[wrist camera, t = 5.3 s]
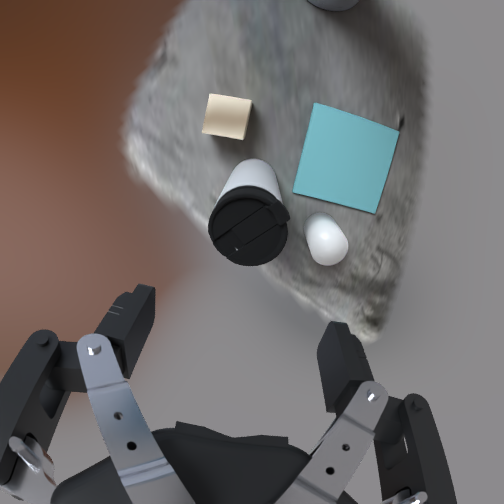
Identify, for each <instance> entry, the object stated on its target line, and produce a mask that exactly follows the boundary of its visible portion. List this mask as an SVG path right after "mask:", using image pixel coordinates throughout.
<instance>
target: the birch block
mask: <svg viewBox="0 0 504 504" xmlns="http://www.w3.org/2000/svg"><path fill="white" fill-rule="evenodd" d="M251 108H252V101H251V100H247V99H241V98H236V97H230V96H224V95H217V94H210V95H209V100H208V105H207V109H206V114H205V119H204V125H203V130H202V133H206V134H212V135H218V136H224V137H230V138H235V139H240V140H243V139H244V138H245V135H246V130H247V126H248V121H249V117H250V112H251Z"/></svg>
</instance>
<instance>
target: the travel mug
mask: <svg viewBox="0 0 504 504" xmlns="http://www.w3.org/2000/svg"><path fill="white" fill-rule="evenodd" d="M289 220H290V216H289V212H288V211H287V209H286V208H285V206H284V205H283V203H282V199H281V195H280V191H279V187H278V183H277V179H276V175H275V172H274V170H273V168H272V167H271V166H270V165H269V164H268V163H267V162H265V161H263V160H261V159H257V158H251V159H246V160H244V161H242V162H240V163H239V164H238V165H237V166H236V167H235V168H234V170H233V172H232V174H231V176H230V178H229V179H228V181H227V183H226V185H225V187H224V189H223V191H222V193H221V195H220V196H219V198H218V200H217V202H216V205H215V207H214V210H213V212H212V214H211V216H210V219H209V224H208V233H209V235H210V238H211V240H212V241H213V245H214V246H215V247H216V249H217V250H218V251H219V252H220V253H221V254H222V255H224V256H226V257H227V259H229V260H230V261H232V262H233V263H235V264H239V265H243V266H258V265H262V264H265V263H267V262H269V261H271V260H273V259H274V258H275V257H277V256H278V255H279V253H280V252H281V251H282V249H283V248H284V246H285V244H286V241H287V235H288V230H287V224H286V222H287V221H289Z"/></svg>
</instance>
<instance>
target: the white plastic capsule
mask: <svg viewBox="0 0 504 504" xmlns="http://www.w3.org/2000/svg"><path fill="white" fill-rule="evenodd" d="M303 229H304V234H305V237H306V240H307V243H308V246H309V249H310V252H311V255H312V257H313V259H314V260H315V261H316V262H317V263H319V264H321V265H326V266H329V265H334V264H336V263H338V262H340V261H341V260H342V259H343V258H344V257H345V255H346V254H347V251H348V241H347V239H346V237H345V236H344V234H343V233H342V231H341V229H340V228H339V226H338V225H337V223H336V222H335V220H334V219H333V217H332V216H330V215H329V214H327V213H323V212H318V213H314V214H312V215H311V216H309V217H308V218H307V220H306V221H305V223H304V228H303Z"/></svg>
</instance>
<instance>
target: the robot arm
mask: <svg viewBox="0 0 504 504" xmlns="http://www.w3.org/2000/svg"><path fill="white" fill-rule="evenodd" d="M308 1H309V2H310V3H311V4H313V5H315V6H317V7H319V8H322V9H325V10H330V11H344V10H347V9H350V8H352V7H353V6H354V5H355V4H356V3H357V2H358V1H359V0H308ZM154 318H155V287H152V286H147V285H143V284H138V285H137V287H136V288H135V290H134V291H133V293H129V292H125V293H123V294H122V295H120V296H119V297H118V298H117V299H116V300H115V302H114V303H113V305H112V306H111V308H110V309H109V311H108V312H107V314H106V315H105V317H104V318H103V320H102V321H101V323H100V324H99V326H98V327H97V329H96V330H95V332H94V333H93V334H88V335H85V336H83V337H82V338H81V339H80V340H79V341H78V342H66V341H59V340H58V337H57V335H56V334H55V333H54V332H52V331H50V330H39V331H36V332H34V333H33V334H32V335H31V336H30V337H29V338H28V340H27V341H26V343H25V344H24V346H23V347H22V349H21V350H20V352H19V353H18V355H17V357H16V358H15V360H14V361H13V363H12V364H11V366H10V368H9V369H8V371H7V372H6V374H5V376H4V377H3V379H2V381H1V383H0V490H2V491H3V492H5V493H7V494H9V495H11V496H13V497H14V498H16V499H18V500H25V501H27V502H29V503H31V504H358V503H357V502H356V501H355V500H354V499H353V498H352V497H351V496H350V495H349V494H347V493H346V492H345V491H344V489H345V487H346V485H347V484H348V482H349V481H350V479H351V478H352V476H353V474H354V473H355V471H356V469H357V468H358V466H359V464H360V462H361V461H362V459H363V457H364V455H365V453H366V451H367V450H368V448H369V446H370V444H371V442H372V440H374V446H375V452H376V458H377V464H378V471H379V478H380V485H381V493H382V501H383V502H382V503H381V504H457V501H456V496H455V492H454V487H453V483H452V479H451V475H450V471H449V467H448V464H447V460H446V456H445V453H444V449H443V446H442V443H441V440H440V436H439V433H438V430H437V427H436V424H435V421H434V418H433V415H432V412H431V409H430V407H429V404H428V402H427V401H426V400H425V399H424V398H423V397H422V396H420V395H418V394H414V393H413V394H409V395H407V397H405V399H404V400H401V399H398V398H394V397H390V396H388V393H387V391H386V390H385V388H384V387H383V386H382V385H381V384H379V383H377V382H375V381H374V378H373V375H372V372H371V369H370V366H369V363H368V361H367V359H366V355H365V353H364V349H363V346H362V344H361V342H360V341H359V339H358V338H357V337H356V336H355V335H352V334H351V333H350V330H349V327H348V325H347V323H342V322H335V321H331V322H330V323H329V324H328V326H327V329H326V331H325V333H324V335H323V337H322V339H321V341H320V343H319V345H318V349H317V360H318V365H319V370H320V376H321V382H322V387H323V393H324V399H325V405H326V411H327V412H330V413H336V418H335V419H334V421H333V422H332V424H331V425H330V426H329V428H328V429H327V430H326V432H325V433H324V435H323V436H322V437H321V439H320V440H319V441H318V443H317V444H316V445H315V446H314V448H313V449H312V450H311V451H310V452H309V454H307V453H306V452H304V451H303V450H301V449H299V448H297V447H294V446H292V445H289V444H288V437H280V436H267V435H257V436H248V437H237V438H232V437H229V436H226V435H224V434H221V433H218V432H216V431H213V430H210V429H208V428H206V427H202V426H197V425H192V424H187V423H183V422H178V421H177V422H176V426H175V428H165V429H159V430H155V431H152V432H151V431H150V429H149V428H148V425H147V423H146V421H145V419H144V417H143V415H142V413H141V411H140V409H139V407H138V405H137V402H136V400H135V398H134V396H133V394H132V391H131V389H130V387H129V384H128V382H127V381H125V380H124V378H127V379H130V377H131V374H132V372H133V369H134V367H135V365H136V363H137V360H138V358H139V356H140V353H141V351H142V348H143V346H144V344H145V342H146V340H147V337H148V335H149V333H150V331H151V328H152V326H153V323H154ZM71 391H72V392H84V393H88V396H89V400H90V403H91V406H92V409H93V412H94V415H95V418H96V421H97V423H98V426H99V429H100V432H101V434H102V437H103V440H104V442H105V444H106V447H107V450H108V452H109V454H110V456H109V457H107V458H105V459H103V460H102V461H100V462H98V463H96V464H95V465H93V466H91V467H89V468H87V469H85V470H84V471H82V472H80V473H78V474H76V475H74V476H72V477H70V478H68V479H66V480H64V481H63V482H61V483H60V484H59V485H58V486H57V485H56V484H55V481H54V477H53V474H54V464H53V461H52V459H51V457H50V456H49V455H48V454H47V451H48V447H49V445H50V442H51V440H52V437H53V434H54V432H55V429H56V426H57V424H58V422H59V419H60V417H61V414H62V412H63V410H64V407H65V405H66V402H67V400H68V398H69V396H70V393H71ZM404 437H405V439H406V443H407V448H408V453H407V451H406V447H405V442H404Z"/></svg>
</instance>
